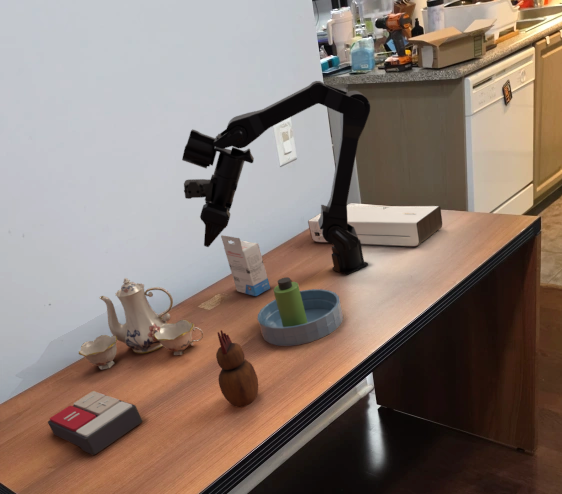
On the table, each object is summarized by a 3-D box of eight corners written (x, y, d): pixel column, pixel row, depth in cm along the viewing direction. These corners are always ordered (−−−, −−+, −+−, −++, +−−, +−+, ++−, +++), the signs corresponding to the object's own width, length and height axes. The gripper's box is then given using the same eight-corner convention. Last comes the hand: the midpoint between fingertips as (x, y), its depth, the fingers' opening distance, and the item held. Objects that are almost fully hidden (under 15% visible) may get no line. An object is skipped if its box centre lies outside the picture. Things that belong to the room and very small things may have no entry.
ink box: (271, 288, 158) (256, 230, 150) (256, 297, 156) (239, 238, 148) (251, 283, 164) (235, 227, 157) (235, 291, 162) (219, 235, 155)
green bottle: (301, 325, 135) (288, 272, 129) (314, 332, 131) (301, 277, 125) (281, 335, 133) (266, 282, 127) (293, 342, 129) (279, 287, 123)
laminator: (443, 229, 163) (440, 205, 160) (418, 249, 156) (414, 224, 153) (336, 226, 186) (331, 205, 182) (310, 244, 179) (305, 222, 175)
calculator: (93, 388, 127) (134, 401, 116) (102, 406, 129) (143, 421, 118) (44, 418, 121) (83, 435, 110) (54, 437, 123) (93, 455, 112)
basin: (315, 301, 145) (311, 282, 143) (360, 321, 131) (356, 301, 129) (249, 332, 140) (243, 313, 138) (288, 357, 126) (282, 336, 124)
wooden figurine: (247, 414, 112) (222, 338, 104) (221, 410, 115) (195, 336, 108) (268, 392, 116) (245, 318, 109) (242, 389, 120) (219, 316, 112)
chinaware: (82, 387, 140) (48, 323, 130) (96, 345, 153) (66, 284, 144) (207, 359, 137) (182, 291, 127) (210, 319, 151) (187, 254, 141)
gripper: (195, 154, 152) (179, 217, 159) (187, 173, 136) (169, 242, 143) (241, 170, 154) (223, 232, 161) (238, 190, 138) (217, 257, 145)
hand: (207, 240), depth 153 cm, fingers open, 9 cm apart
